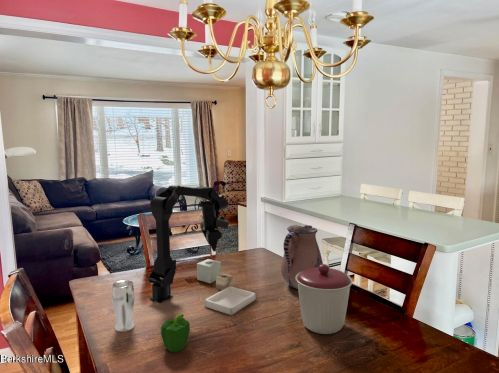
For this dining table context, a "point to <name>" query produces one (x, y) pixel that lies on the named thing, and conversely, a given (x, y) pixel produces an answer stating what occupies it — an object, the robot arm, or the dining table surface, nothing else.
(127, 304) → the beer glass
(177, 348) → the bell pepper
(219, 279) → the maple block
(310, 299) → the canister
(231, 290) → the tray
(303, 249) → the ceramic pitcher
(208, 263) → the sage block
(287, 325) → the dining table surface
